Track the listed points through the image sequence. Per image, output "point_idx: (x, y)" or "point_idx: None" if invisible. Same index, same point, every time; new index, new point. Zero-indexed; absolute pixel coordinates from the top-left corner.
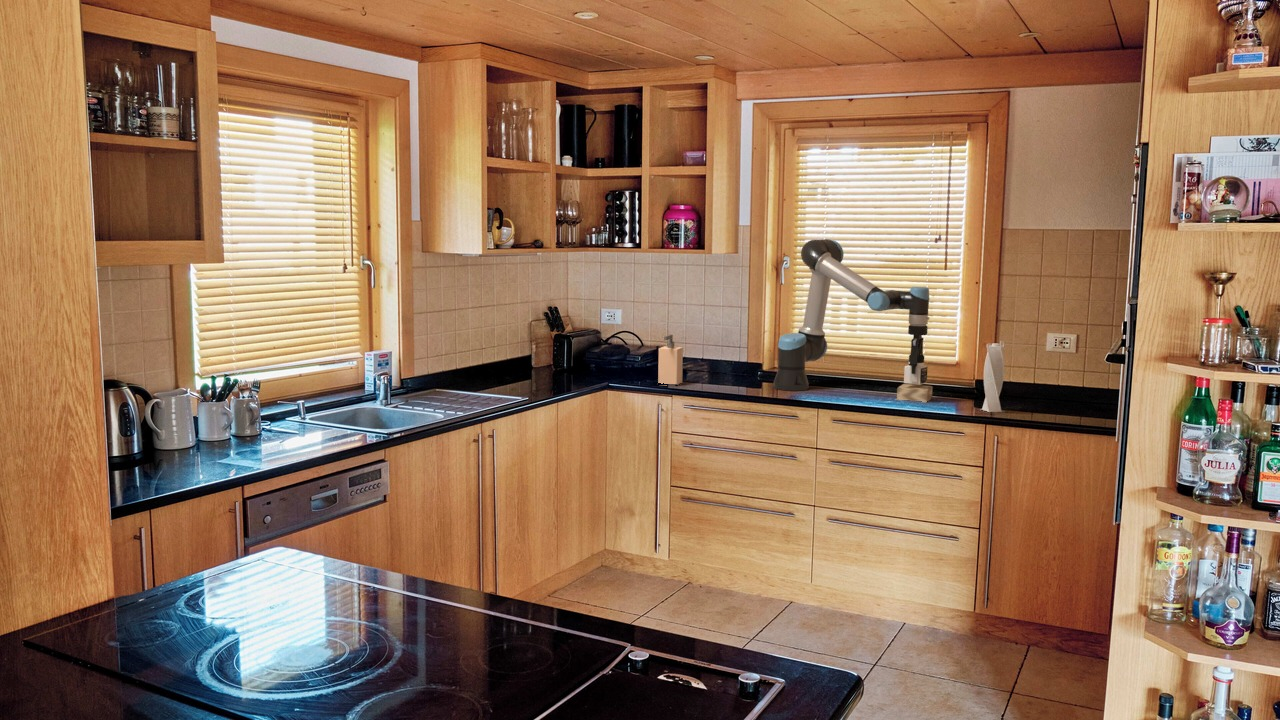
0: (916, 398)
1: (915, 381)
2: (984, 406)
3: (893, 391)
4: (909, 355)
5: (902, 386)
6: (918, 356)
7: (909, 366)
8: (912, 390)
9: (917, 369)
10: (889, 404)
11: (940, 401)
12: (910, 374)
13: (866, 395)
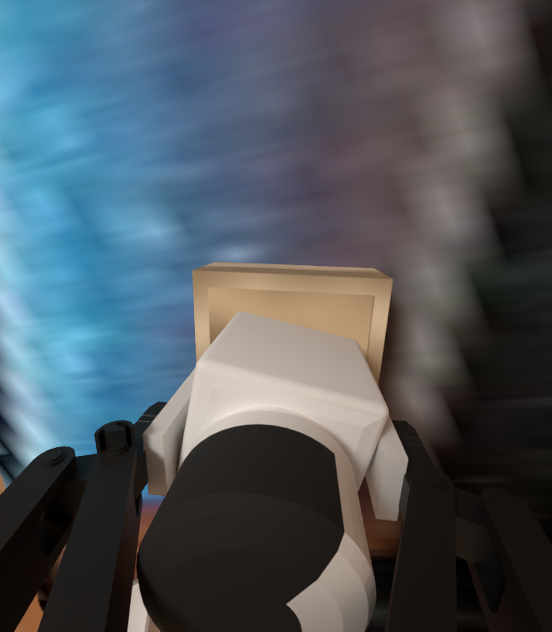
0: None
1: None
2: None
3: (528, 188)
4: (206, 505)
5: (255, 294)
6: (151, 616)
7: (191, 411)
8: (199, 358)
9: (176, 467)
10: (72, 249)
11: None
12: (180, 387)
13: (289, 49)
